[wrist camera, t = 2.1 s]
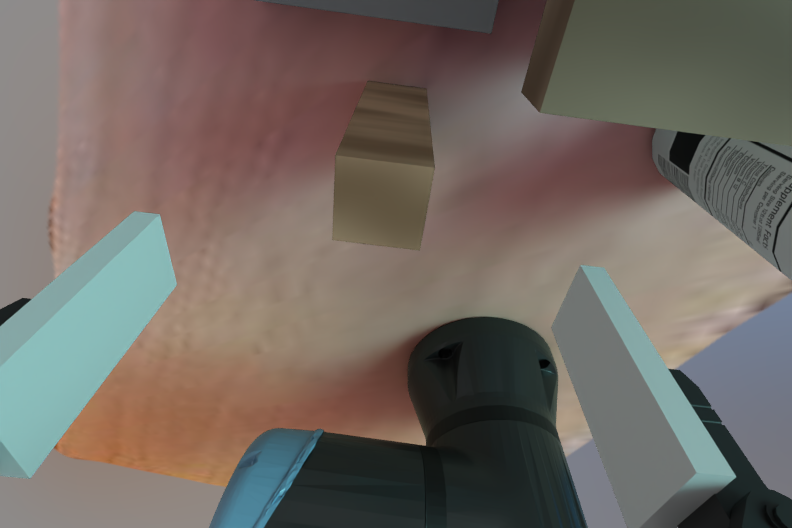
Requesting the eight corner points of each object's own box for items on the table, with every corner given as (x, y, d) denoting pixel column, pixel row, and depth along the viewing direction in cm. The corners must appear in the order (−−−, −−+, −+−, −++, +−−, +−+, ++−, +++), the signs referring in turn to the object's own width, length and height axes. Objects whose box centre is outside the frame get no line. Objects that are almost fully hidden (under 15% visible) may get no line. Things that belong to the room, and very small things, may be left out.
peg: (417, 146, 30) (419, 250, 19) (363, 139, 30) (332, 239, 19) (426, 88, 28) (434, 167, 17) (367, 80, 28) (335, 155, 16)
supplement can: (724, 35, 26) (1009, 92, 13) (804, 106, 28) (1111, 211, 16) (621, 145, 30) (766, 266, 18) (698, 200, 32) (875, 340, 20)
